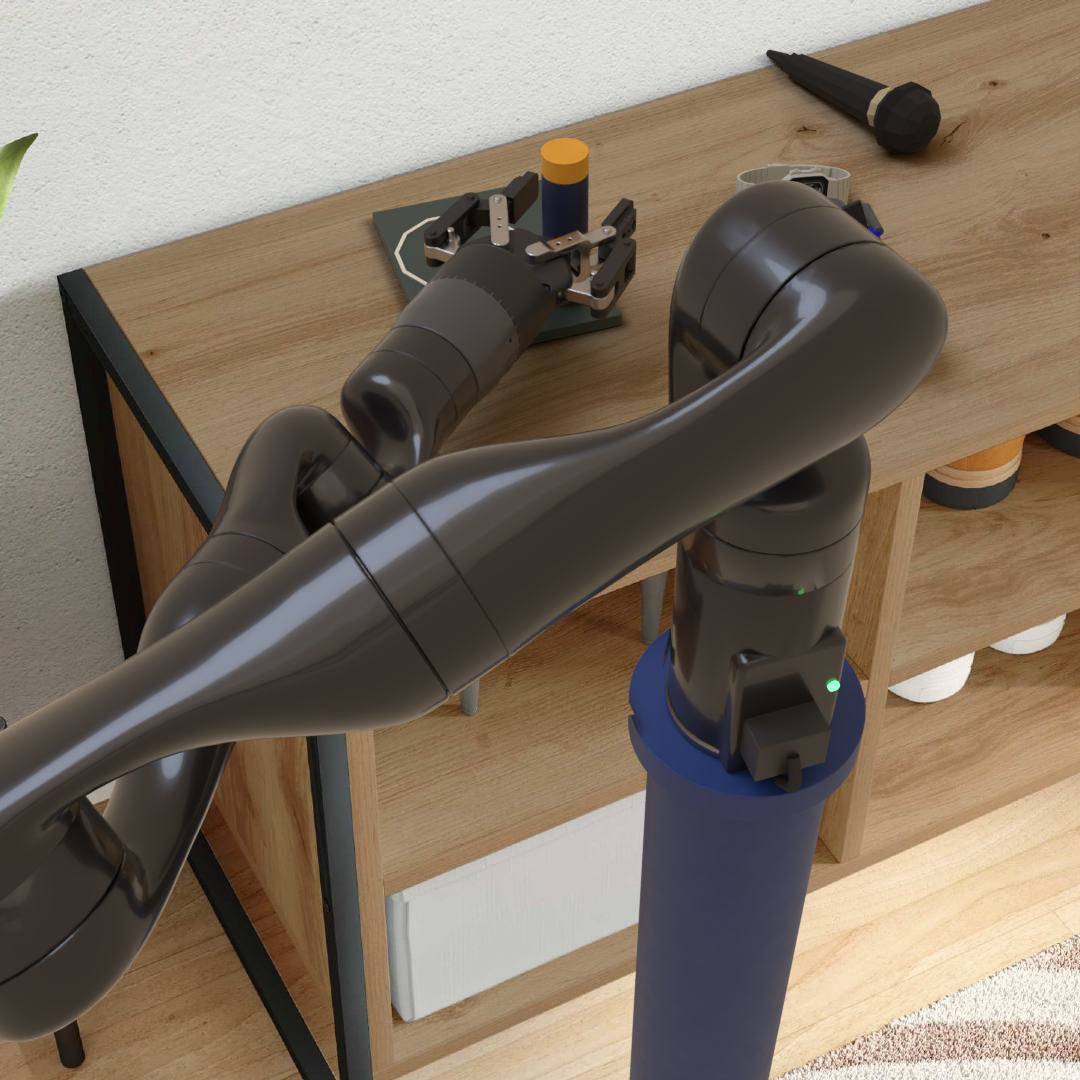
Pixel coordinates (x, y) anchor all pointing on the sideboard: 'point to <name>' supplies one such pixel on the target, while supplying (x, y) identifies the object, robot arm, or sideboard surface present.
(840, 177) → the wristwatch
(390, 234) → the slate
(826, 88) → the microphone
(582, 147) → the marker
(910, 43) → the sideboard surface
